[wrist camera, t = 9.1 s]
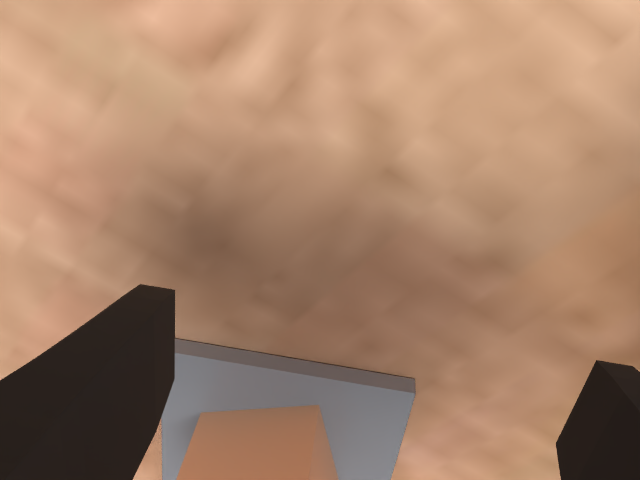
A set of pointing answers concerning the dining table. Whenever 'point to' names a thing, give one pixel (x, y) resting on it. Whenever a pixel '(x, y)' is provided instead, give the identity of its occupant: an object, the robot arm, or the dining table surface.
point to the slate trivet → (289, 403)
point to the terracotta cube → (260, 446)
